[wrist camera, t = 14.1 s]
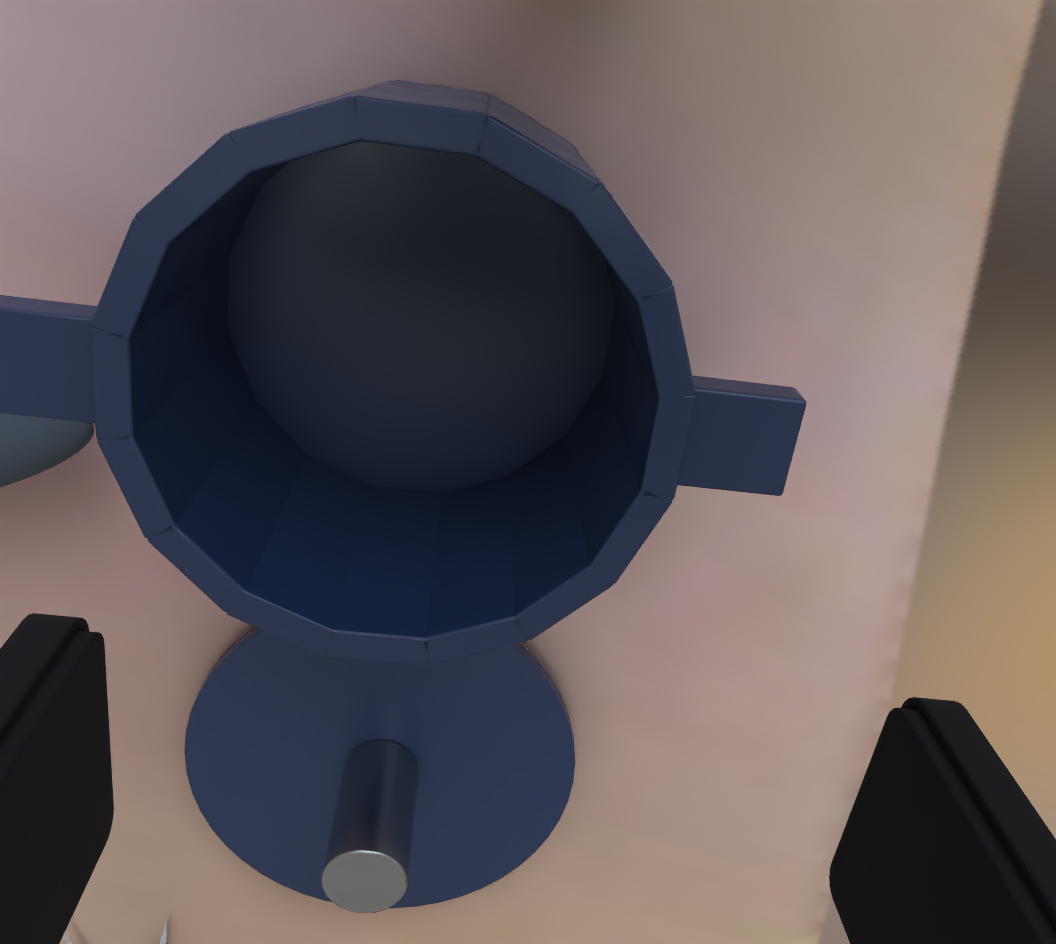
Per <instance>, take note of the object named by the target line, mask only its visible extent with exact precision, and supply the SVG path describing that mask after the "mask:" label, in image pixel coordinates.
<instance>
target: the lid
mask: <svg viewBox="0 0 1056 944" xmlns="http://www.w3.org/2000/svg"><path fill="white" fill-rule="evenodd" d="M185 761H186V770H187V775H188V779H189V783H190V786H191V790H192V793H193V795H194V798H195V800H196V802H197V804H198V807H199V809H200V811H201V813H202V814H203V816H204V817H205V819H206V820H207V822H208V824H209V825H210V827H211V828H212V830H213V831H214V832H215V833H216V834H217V835H218V837H219V838H220V839H221V840H222V841H223V843H224V844H225V845H226V846H227V847H228V848H229V849H230V850H232V851H233V852H234V853H235V854H236V855H237V856H238V857H239V858H240V859H241V860H243V861H244V862H246V863H247V864H248V865H250V866H251V867H253V868H254V869H255V870H257V871H258V872H260V873H261V874H263V875H265V876H266V877H268V878H270V879H272V880H274V881H275V882H277V883H279V884H281V885H283V886H286V887H288V888H290V889H293V890H295V891H297V892H300V893H302V894H305V895H309V896H312V897H315V898H318V899H321V900H325V901H330V902H333V903H335V904H336V905H337V906H339V907H341V908H343V909H346V910H349V911H352V912H357V913H374V912H379V911H383V910H386V909H388V908H402V907H415V906H422V905H427V904H433V903H439V902H443V901H446V900H450V899H454V898H457V897H461V896H463V895H466V894H469V893H471V892H474V891H476V890H479V889H481V888H483V887H485V886H487V885H489V884H491V883H493V882H495V881H497V880H499V879H501V878H502V877H504V876H505V875H507V874H508V873H510V872H511V871H513V870H514V869H516V868H517V867H518V866H520V865H521V864H522V863H523V862H524V861H525V860H527V859H528V858H529V857H530V856H531V855H532V854H533V853H535V852H536V850H537V849H538V848H539V847H540V846H541V845H542V844H543V842H544V841H545V840H546V839H547V838H548V837H549V835H550V834H551V832H552V830H553V829H554V827H555V826H556V824H557V823H558V821H559V820H560V817H561V815H562V813H563V811H564V809H565V806H566V804H567V802H568V799H569V795H570V792H571V788H572V784H573V778H574V769H575V752H574V739H573V732H572V728H571V723H570V719H569V715H568V712H567V709H566V707H565V705H564V702H563V700H562V697H561V695H560V693H559V691H558V690H557V688H556V686H555V685H554V683H553V681H552V680H551V678H550V676H549V675H548V674H547V672H546V671H545V670H544V669H543V668H542V666H541V665H540V664H539V663H538V661H537V660H536V659H535V658H534V657H533V656H532V655H531V654H530V653H529V652H528V651H527V650H525V649H524V648H523V647H522V646H521V645H520V644H515V645H511V646H507V647H503V648H499V649H494V650H490V651H486V652H482V653H478V654H474V655H470V656H466V657H462V658H458V659H454V660H449V661H445V662H441V663H437V664H433V665H430V664H428V665H416V664H405V663H393V662H382V661H371V660H359V659H348V658H337V657H327V656H321V655H319V654H317V653H314V652H312V651H310V650H307V649H305V648H303V647H301V646H298V645H296V644H294V643H291V642H289V641H287V640H285V639H282V638H280V637H278V636H275V635H273V634H271V633H268V632H266V631H264V630H262V629H259V628H255V629H253V630H252V631H250V632H249V633H247V634H246V635H245V636H244V637H243V638H241V639H240V640H239V641H238V642H237V643H235V644H234V645H233V646H232V647H231V648H230V649H229V650H228V651H227V652H226V653H225V654H224V655H223V656H222V658H221V659H220V660H219V661H218V662H217V663H216V664H215V666H214V667H213V669H212V670H211V672H210V673H209V675H208V677H207V678H206V680H205V681H204V683H203V685H202V687H201V689H200V691H199V694H198V696H197V698H196V701H195V703H194V705H193V708H192V710H191V713H190V717H189V721H188V725H187V729H186V738H185Z"/></svg>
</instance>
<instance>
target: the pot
mask: <svg viewBox="0 0 1056 944" xmlns="http://www.w3.org/2000/svg"><path fill="white" fill-rule="evenodd" d="M805 407H806V400H805V399H804V398H803V397H802V396H801V395H800V393H799V392H798V391H797V390H796V389H795V388H793V387H785V386H777V385H768V384H760V383H751V382H742V381H734V380H725V379H717V378H708V377H699V376H692V373H691V368H690V363H689V358H688V353H687V348H686V344H685V339H684V334H683V329H682V324H681V319H680V314H679V310H678V305H677V300H676V295H675V290H674V286H673V285H672V281H671V279H670V278H669V276H668V275H667V274H666V272H665V271H664V269H663V268H662V266H661V265H660V264H659V262H658V261H657V259H656V258H655V257H654V255H653V254H652V252H651V251H650V250H649V248H648V247H647V245H646V244H645V243H644V241H643V240H642V238H641V237H640V235H639V234H638V233H637V231H636V230H635V228H634V227H633V226H632V224H631V223H630V221H629V220H628V219H627V217H626V216H625V214H624V213H623V212H622V210H621V209H620V207H619V206H618V205H617V203H616V202H615V200H614V199H613V197H612V196H611V195H610V193H609V192H608V190H607V189H606V188H605V186H604V185H603V183H602V182H601V181H600V180H599V178H598V177H597V176H596V174H595V173H594V172H593V171H592V169H591V168H590V167H589V165H588V164H587V163H586V162H585V160H584V159H583V158H582V156H581V155H580V154H579V153H578V151H577V150H576V149H575V147H574V146H573V145H572V144H570V143H569V142H568V141H567V140H566V139H564V138H562V137H561V136H559V135H557V134H556V133H554V132H552V131H551V130H549V129H548V128H546V127H544V126H543V125H541V124H540V123H538V122H537V121H535V120H534V119H532V118H531V117H529V116H528V115H526V114H524V113H522V112H520V111H518V110H517V109H515V108H513V107H512V106H510V105H508V104H507V103H505V102H503V101H502V100H500V99H499V98H497V97H495V96H494V95H489V94H488V93H486V92H479V91H471V90H464V89H457V88H452V87H447V86H442V85H428V84H421V83H414V82H407V81H400V80H396V81H388V82H385V83H381V84H378V85H375V86H371V87H368V88H364V89H361V90H358V91H354V92H351V93H347V94H344V95H341V96H337V97H334V98H331V99H327V100H324V101H320V102H317V103H314V104H310V105H307V106H304V107H301V108H298V109H295V110H292V111H289V112H286V113H283V114H280V115H277V116H274V117H271V118H268V119H265V120H262V121H259V122H256V123H253V124H250V125H247V126H245V127H242V128H239V129H236V130H233V131H231V132H230V133H227V134H225V135H223V136H222V137H221V138H220V139H219V140H218V141H217V142H216V143H215V144H213V145H212V146H211V147H210V148H209V149H208V150H207V151H206V152H205V153H203V154H202V155H201V156H200V157H199V158H198V159H197V160H196V161H195V162H193V163H192V164H191V165H190V166H189V167H188V168H187V169H186V170H184V171H183V172H182V173H181V174H180V175H179V176H178V177H177V178H176V179H174V180H173V181H172V182H171V183H170V184H169V185H168V186H167V187H166V188H164V189H163V190H162V191H161V192H160V193H159V194H158V195H157V196H155V197H154V198H153V199H152V200H151V201H150V202H149V203H148V204H147V205H145V206H144V207H143V208H142V209H141V210H140V211H139V212H138V213H137V214H136V216H135V218H133V220H132V222H131V225H130V227H129V230H128V232H127V235H126V237H125V239H124V242H123V244H122V247H121V249H120V252H119V254H118V257H117V259H116V262H115V264H114V267H113V269H112V272H111V274H110V277H109V279H108V282H107V284H106V287H105V289H104V292H103V294H102V297H101V299H100V301H99V304H98V306H90V305H81V304H73V303H64V302H55V301H47V300H38V299H29V298H21V297H12V296H4V295H0V413H2V414H11V415H21V416H30V417H40V418H49V419H58V420H68V421H77V422H87V423H96V437H97V439H98V444H99V446H100V448H101V450H102V452H103V454H104V456H105V458H106V460H107V462H108V464H109V466H110V468H111V470H112V472H113V474H114V476H115V478H116V480H117V482H118V484H119V486H120V488H121V490H122V492H123V494H124V496H125V498H126V500H127V502H128V505H129V507H130V509H131V511H132V513H133V515H134V517H135V519H136V521H137V523H138V525H139V527H140V529H141V531H142V533H143V535H144V537H145V538H148V541H149V542H150V543H151V544H152V545H153V546H154V547H155V548H156V549H157V550H158V551H159V552H160V553H161V554H162V555H164V556H165V557H166V558H167V559H168V560H169V561H170V562H171V563H172V564H173V565H174V566H175V567H177V568H178V569H179V570H180V571H181V572H182V573H183V574H184V575H185V576H186V577H187V578H188V579H190V580H191V581H192V582H193V583H194V584H195V585H196V586H197V587H198V588H199V589H200V590H201V591H203V592H204V593H205V594H206V595H207V596H208V597H209V598H210V599H211V600H212V601H213V602H214V603H216V604H217V605H218V606H219V607H220V608H221V609H222V610H223V611H225V612H227V615H229V616H232V617H234V618H236V619H239V620H241V621H243V622H245V623H248V624H250V625H252V626H255V627H257V628H259V629H262V630H264V631H266V632H268V633H271V634H273V635H275V636H278V637H280V638H282V639H285V640H287V641H289V642H291V643H294V644H296V645H298V646H301V647H303V648H305V649H307V650H310V651H312V652H314V653H317V654H319V655H321V656H327V657H337V658H348V659H359V660H371V661H382V662H393V663H405V664H416V665H428V664H430V665H433V664H437V663H441V662H445V661H449V660H454V659H458V658H462V657H466V656H470V655H474V654H478V653H482V652H486V651H490V650H494V649H499V648H503V647H507V646H511V645H515V644H519V643H523V642H526V641H528V639H529V640H531V639H533V638H534V637H536V636H537V635H539V634H541V633H542V632H544V631H545V630H547V629H548V628H550V627H551V626H553V625H554V624H556V623H557V622H559V621H560V620H562V619H563V618H565V617H566V616H568V615H569V614H571V613H572V612H574V611H575V610H577V609H578V608H580V607H581V606H583V605H584V604H586V603H587V602H589V601H590V600H592V599H593V598H595V597H596V596H598V595H599V594H601V593H602V592H604V591H605V590H607V589H608V588H610V587H611V586H612V585H613V583H616V581H617V580H618V579H619V577H620V576H621V574H622V573H623V571H624V570H625V569H626V567H627V566H628V564H629V563H630V561H631V560H632V559H633V557H634V556H635V554H636V553H637V551H638V550H639V549H640V547H641V546H642V544H643V543H644V541H645V540H646V539H647V537H648V536H649V534H650V533H651V531H652V530H653V529H654V527H655V526H656V524H657V523H658V522H659V520H660V519H661V517H662V516H663V514H664V513H665V512H666V510H667V509H668V507H669V506H670V504H671V503H672V500H673V499H674V497H675V492H676V488H677V485H682V486H692V487H701V488H710V489H720V490H729V491H739V492H748V493H758V494H767V495H776V496H780V495H782V494H783V490H784V486H785V482H786V479H787V475H788V471H789V467H790V464H791V460H792V456H793V452H794V449H795V445H796V441H797V437H798V434H799V430H800V426H801V422H802V418H803V415H804V411H805Z"/></svg>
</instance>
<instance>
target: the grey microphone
mask: <svg viewBox="0 0 1056 944" xmlns="http://www.w3.org/2000/svg"><path fill="white" fill-rule="evenodd" d="M93 432H94V428H93V426H92V424H91V423H87V422H77V421H68V420H58V419H49V418H40V417H30V416H21V415H11V414H2V413H0V487H2V486H5V485H8V484H11V483H14V482H17V481H20V480H23V479H25V478H28V477H31V476H33V475H36V474H38V473H40V472H43V471H45V470H47V469H49V468H51V467H54V466H56V465H57V464H59V463H61V462H63V461H65V460H66V459H68V458H69V457H71V456H72V455H74V454H75V453H77V452H78V451H79V450H81V449H82V448H83V447H84V446H85V445H86V444H87V443H88V442H89V441H90V439H91V438H92V436H93Z"/></svg>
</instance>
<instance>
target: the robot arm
mask: <svg viewBox="0 0 1056 944" xmlns="http://www.w3.org/2000/svg"><path fill="white" fill-rule="evenodd" d="M113 813H114V804H113V787H112V769H111V752H110V734H109V717H108V699H107V682H106V664H105V647H104V638H103V636H102V634H101V633H98V632H89V627H88V624H87V622H86V620H85V619H83V618H77V617H67V616H56V615H46V614H35V613H33V614H29V615H28V616H27V617H26V618H24V619H23V621H22V622H21V623H20V624H19V626H18V627H17V628H16V630H15V631H14V632H13V633H12V635H11V636H10V637H9V638H8V640H7V641H6V642H5V644H4V645H3V646H2V647H1V649H0V944H59V943H60V941H61V939H62V937H63V935H64V932H65V930H66V928H67V926H68V924H69V922H70V920H71V917H72V915H73V913H74V911H75V909H76V907H77V905H78V902H79V900H80V898H81V896H82V894H83V892H84V890H85V887H86V885H87V883H88V881H89V879H90V877H91V875H92V872H93V870H94V868H95V866H96V864H97V862H98V860H99V858H100V855H101V853H102V851H103V849H104V847H105V845H106V842H107V840H108V837H109V834H110V830H111V826H112V821H113ZM829 880H830V890H831V894H832V898H833V900H834V903H835V906H836V908H837V911H838V913H839V916H840V918H841V921H842V924H843V926H844V929H845V931H846V934H847V936H848V939H849V941H850V944H1056V839H1055V838H1054V836H1053V835H1052V833H1051V832H1050V830H1049V829H1048V827H1047V826H1046V825H1045V823H1044V822H1043V820H1042V819H1041V817H1040V816H1039V814H1038V813H1037V811H1036V810H1035V808H1034V807H1033V806H1032V804H1031V803H1030V801H1029V800H1028V798H1027V797H1026V795H1025V794H1024V792H1023V791H1022V790H1021V788H1020V787H1019V785H1018V784H1017V782H1016V781H1015V779H1014V778H1013V776H1012V775H1011V774H1010V772H1009V771H1008V769H1007V768H1006V766H1005V765H1004V763H1003V762H1002V761H1001V759H1000V758H999V756H998V755H997V753H996V752H995V750H994V749H993V747H992V746H991V745H990V743H989V742H988V740H987V739H986V737H985V736H984V734H983V733H982V732H981V730H980V729H979V727H978V726H977V724H976V723H975V721H974V720H973V718H972V717H971V716H970V714H969V713H968V711H967V710H966V709H965V707H964V706H963V705H962V704H961V703H958V702H956V701H947V700H936V699H926V698H915V697H913V698H909V699H907V700H906V701H905V702H904V703H903V705H902V707H901V708H894V709H893V710H891V711H890V712H889V714H888V716H887V718H886V721H885V724H884V726H883V729H882V732H881V734H880V737H879V739H878V742H877V745H876V747H875V750H874V753H873V755H872V758H871V761H870V763H869V766H868V768H867V771H866V774H865V776H864V779H863V782H862V784H861V787H860V789H859V792H858V795H857V797H856V800H855V803H854V805H853V808H852V811H851V813H850V816H849V818H848V821H847V824H846V826H845V829H844V832H843V834H842V837H841V839H840V842H839V845H838V847H837V850H836V853H835V855H834V858H833V860H832V863H831V867H830V875H829Z"/></svg>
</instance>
